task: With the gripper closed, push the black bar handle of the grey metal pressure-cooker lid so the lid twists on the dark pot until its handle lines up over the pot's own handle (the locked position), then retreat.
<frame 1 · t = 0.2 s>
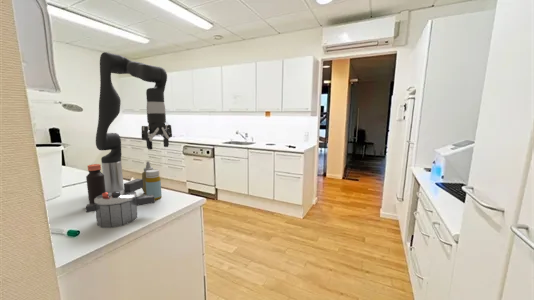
hand: (158, 148, 105), 29 cm above the counter, fingers open, 8 cm apart
bottle: (154, 198, 121), on the counter
pot: (118, 219, 96), on the counter
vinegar: (98, 205, 111), on the counter
squeeze bottle: (150, 193, 130), on the counter
lid: (122, 190, 98), point 11 cm above the counter, hinge at 50.0°
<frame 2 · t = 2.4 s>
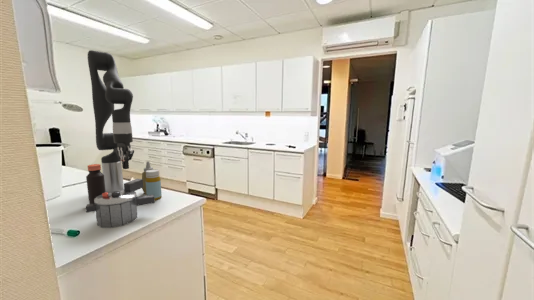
hand: (125, 168, 109), 18 cm above the counter, fingers closed
nothing on the counter moved.
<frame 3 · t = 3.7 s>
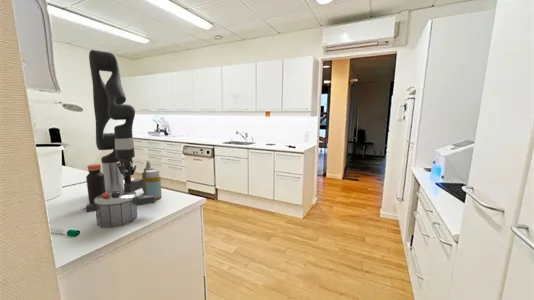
hand: (127, 183, 110), 11 cm above the counter, fingers closed
nothing on the counter moved.
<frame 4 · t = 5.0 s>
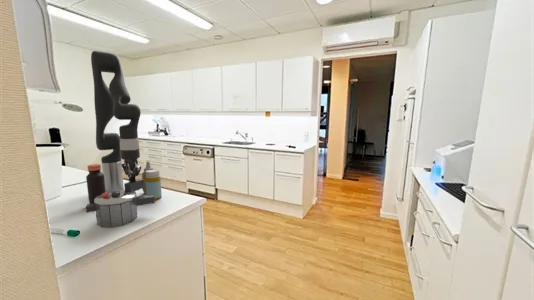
hand: (132, 184, 108), 11 cm above the counter, fingers closed
lid: (122, 190, 98), point 11 cm above the counter, hinge at 48.0°, touching gripper
everything else where it was.
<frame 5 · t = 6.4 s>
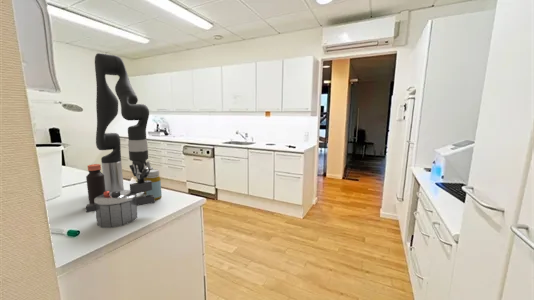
hand: (141, 186, 106), 11 cm above the counter, fingers closed
lid: (124, 191, 97), point 11 cm above the counter, hinge at 21.6°, touching gripper
everything else where it was.
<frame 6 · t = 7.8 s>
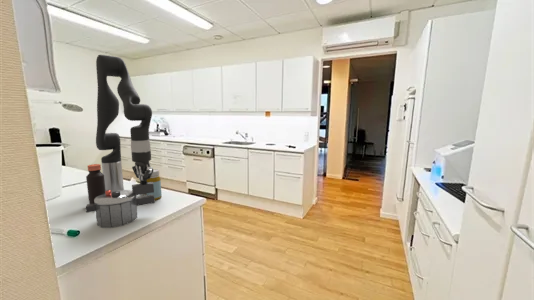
hand: (143, 187, 104), 11 cm above the counter, fingers closed
lid: (125, 192, 97), point 12 cm above the counter, hinge at 5.5°, touching gripper
everything else where it was.
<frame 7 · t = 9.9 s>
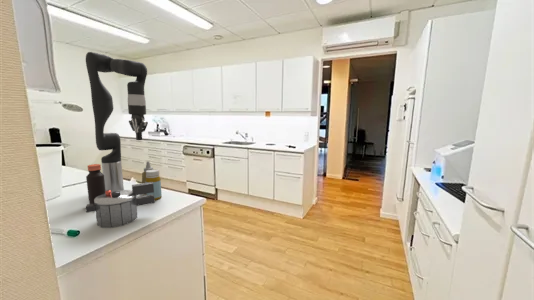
hand: (139, 140, 114), 31 cm above the counter, fingers closed
lid: (125, 192, 97), point 11 cm above the counter, hinge at 5.1°
everything else where it was.
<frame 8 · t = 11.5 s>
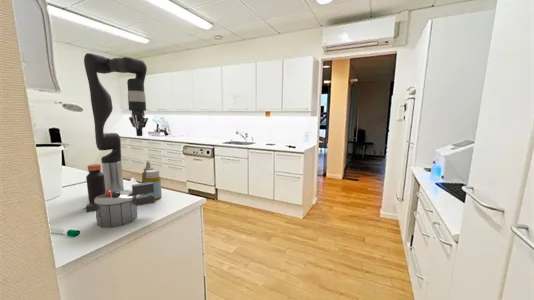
hand: (139, 136, 115), 33 cm above the counter, fingers closed
nothing on the counter moved.
at the end: lid at +5° (first picture: +50°) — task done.
